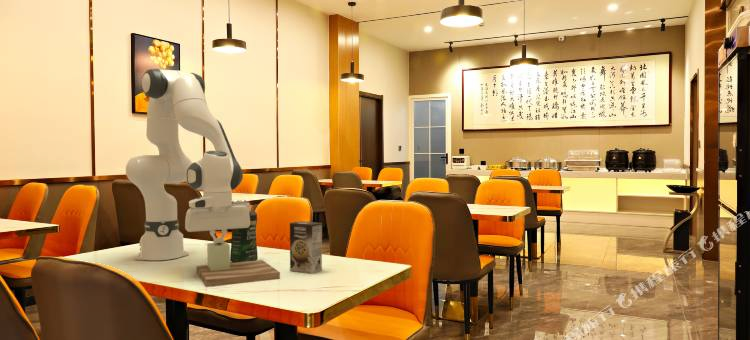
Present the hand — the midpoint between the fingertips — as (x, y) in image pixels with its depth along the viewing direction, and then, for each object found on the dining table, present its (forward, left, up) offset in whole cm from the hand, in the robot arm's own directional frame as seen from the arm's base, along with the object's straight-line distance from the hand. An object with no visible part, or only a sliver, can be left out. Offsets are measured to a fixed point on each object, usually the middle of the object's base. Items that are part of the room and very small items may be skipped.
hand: (218, 243), depth 169 cm
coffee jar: (-17, +12, -10) cm, 23 cm away
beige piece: (0, 0, -8) cm, 8 cm away
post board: (+4, +5, -10) cm, 12 cm away
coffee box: (+8, +27, -10) cm, 30 cm away
